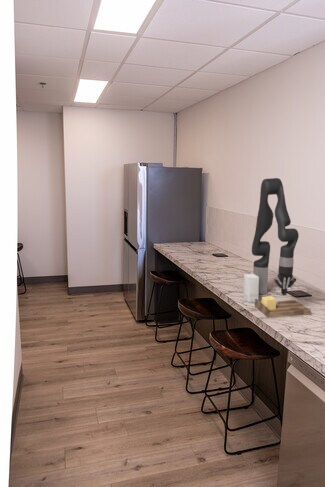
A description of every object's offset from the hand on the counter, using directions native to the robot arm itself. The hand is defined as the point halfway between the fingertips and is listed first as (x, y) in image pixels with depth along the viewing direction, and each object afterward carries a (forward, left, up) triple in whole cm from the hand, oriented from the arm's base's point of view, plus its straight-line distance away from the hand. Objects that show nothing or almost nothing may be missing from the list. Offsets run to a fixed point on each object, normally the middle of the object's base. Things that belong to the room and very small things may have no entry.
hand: (283, 294), depth 209 cm
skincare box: (-19, -11, -9) cm, 24 cm away
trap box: (0, 0, -9) cm, 9 cm away
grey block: (-5, -3, -9) cm, 11 cm away
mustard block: (+1, -9, -7) cm, 11 cm away
